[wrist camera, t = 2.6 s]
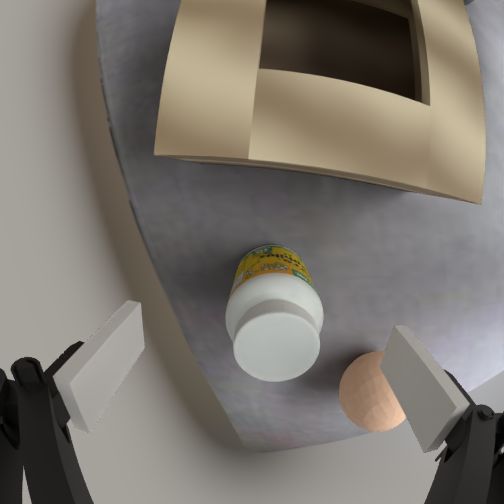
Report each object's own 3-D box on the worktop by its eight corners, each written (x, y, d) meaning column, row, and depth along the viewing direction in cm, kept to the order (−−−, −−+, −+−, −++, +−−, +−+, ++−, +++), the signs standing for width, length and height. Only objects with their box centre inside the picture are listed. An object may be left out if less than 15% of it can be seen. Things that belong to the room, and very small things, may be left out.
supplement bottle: (226, 293, 22) (201, 370, 12) (253, 231, 20) (241, 277, 11) (288, 317, 22) (300, 402, 13) (318, 259, 21) (356, 322, 11)
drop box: (225, -9, 15) (207, -74, 6) (407, 24, 15) (455, -21, 6) (200, 163, 19) (153, 154, 11) (408, 191, 19) (481, 204, 10)
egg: (318, 365, 23) (333, 430, 16) (379, 322, 22) (416, 378, 14) (352, 398, 24) (370, 456, 17) (406, 362, 23) (438, 414, 15)
